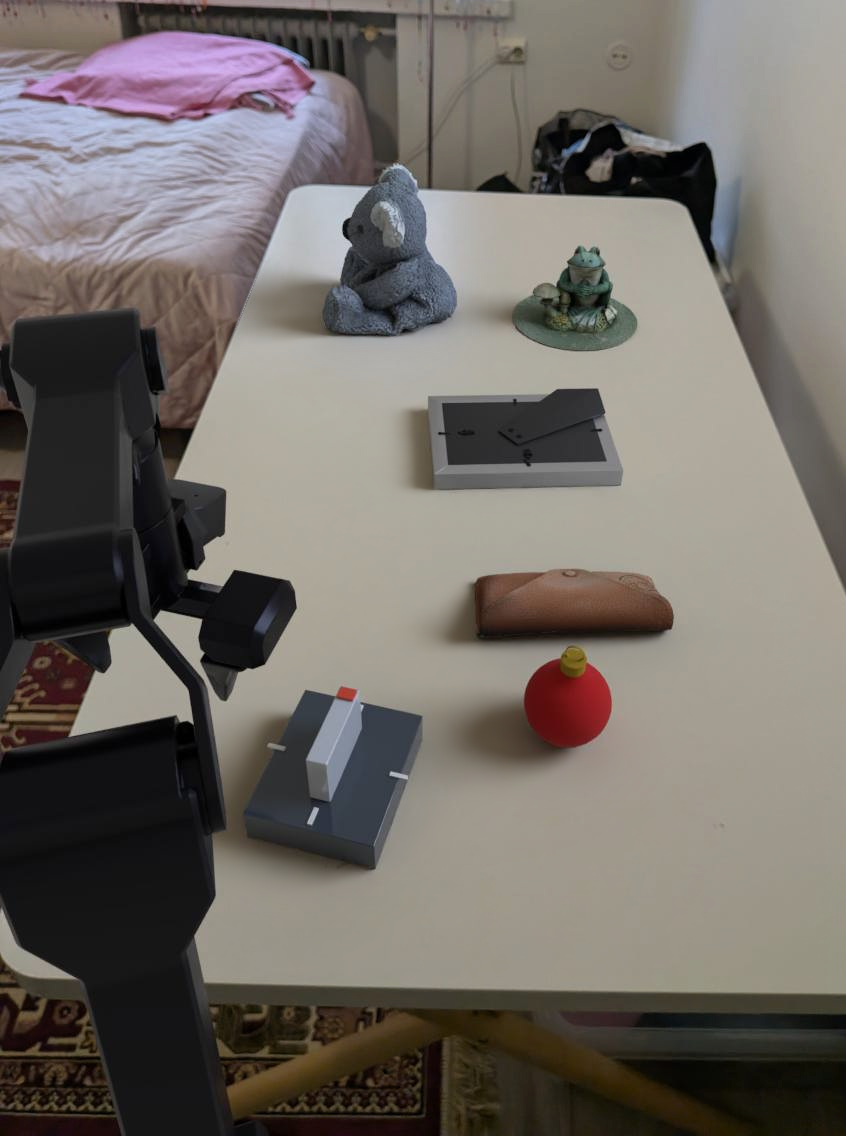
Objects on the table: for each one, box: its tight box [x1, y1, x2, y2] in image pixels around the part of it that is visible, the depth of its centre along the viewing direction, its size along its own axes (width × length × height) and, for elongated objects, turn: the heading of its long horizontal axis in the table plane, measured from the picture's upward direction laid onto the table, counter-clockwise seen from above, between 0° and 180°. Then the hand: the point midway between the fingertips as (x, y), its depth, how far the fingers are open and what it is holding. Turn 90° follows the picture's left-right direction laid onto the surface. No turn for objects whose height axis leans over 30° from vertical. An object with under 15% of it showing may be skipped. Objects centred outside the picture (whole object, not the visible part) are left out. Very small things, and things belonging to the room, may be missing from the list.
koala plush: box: [321, 162, 458, 337], centre depth 130 cm, size 17×18×20 cm
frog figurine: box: [512, 245, 638, 352], centre depth 133 cm, size 18×18×12 cm
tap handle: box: [306, 686, 362, 802], centre depth 71 cm, size 7×2×5 cm, turn 166°
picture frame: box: [427, 387, 624, 490], centre depth 111 cm, size 16×3×21 cm
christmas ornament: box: [523, 644, 613, 748], centre depth 76 cm, size 7×7×10 cm
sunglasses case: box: [474, 568, 675, 638], centre depth 89 cm, size 18×7×7 cm
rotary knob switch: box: [242, 689, 424, 870], centre depth 74 cm, size 12×11×3 cm
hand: (165, 682), depth 67 cm, fingers open, 9 cm apart
